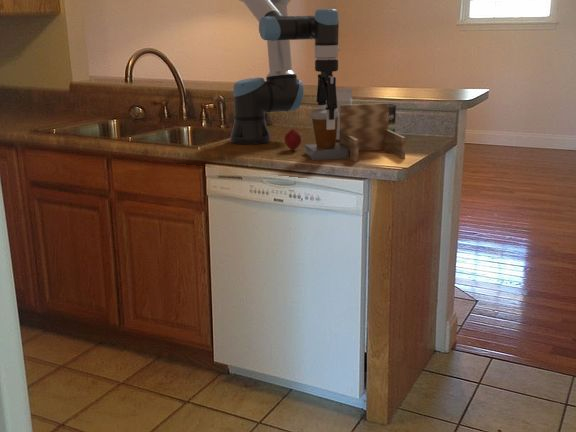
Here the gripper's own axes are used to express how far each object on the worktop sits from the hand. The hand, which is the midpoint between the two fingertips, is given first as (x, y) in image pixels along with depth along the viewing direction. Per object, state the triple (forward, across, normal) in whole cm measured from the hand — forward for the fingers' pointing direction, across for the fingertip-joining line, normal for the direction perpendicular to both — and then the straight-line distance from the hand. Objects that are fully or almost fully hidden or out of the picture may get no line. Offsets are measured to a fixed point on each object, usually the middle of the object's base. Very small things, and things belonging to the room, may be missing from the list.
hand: (326, 126), depth 220 cm
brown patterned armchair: (+10, -2, -15) cm, 18 cm away
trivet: (+10, 0, 0) cm, 10 cm away
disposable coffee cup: (+7, 0, 0) cm, 7 cm away
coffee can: (+10, +16, -25) cm, 32 cm away
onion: (+10, +12, +9) cm, 18 cm away
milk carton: (+10, +30, -14) cm, 35 cm away
